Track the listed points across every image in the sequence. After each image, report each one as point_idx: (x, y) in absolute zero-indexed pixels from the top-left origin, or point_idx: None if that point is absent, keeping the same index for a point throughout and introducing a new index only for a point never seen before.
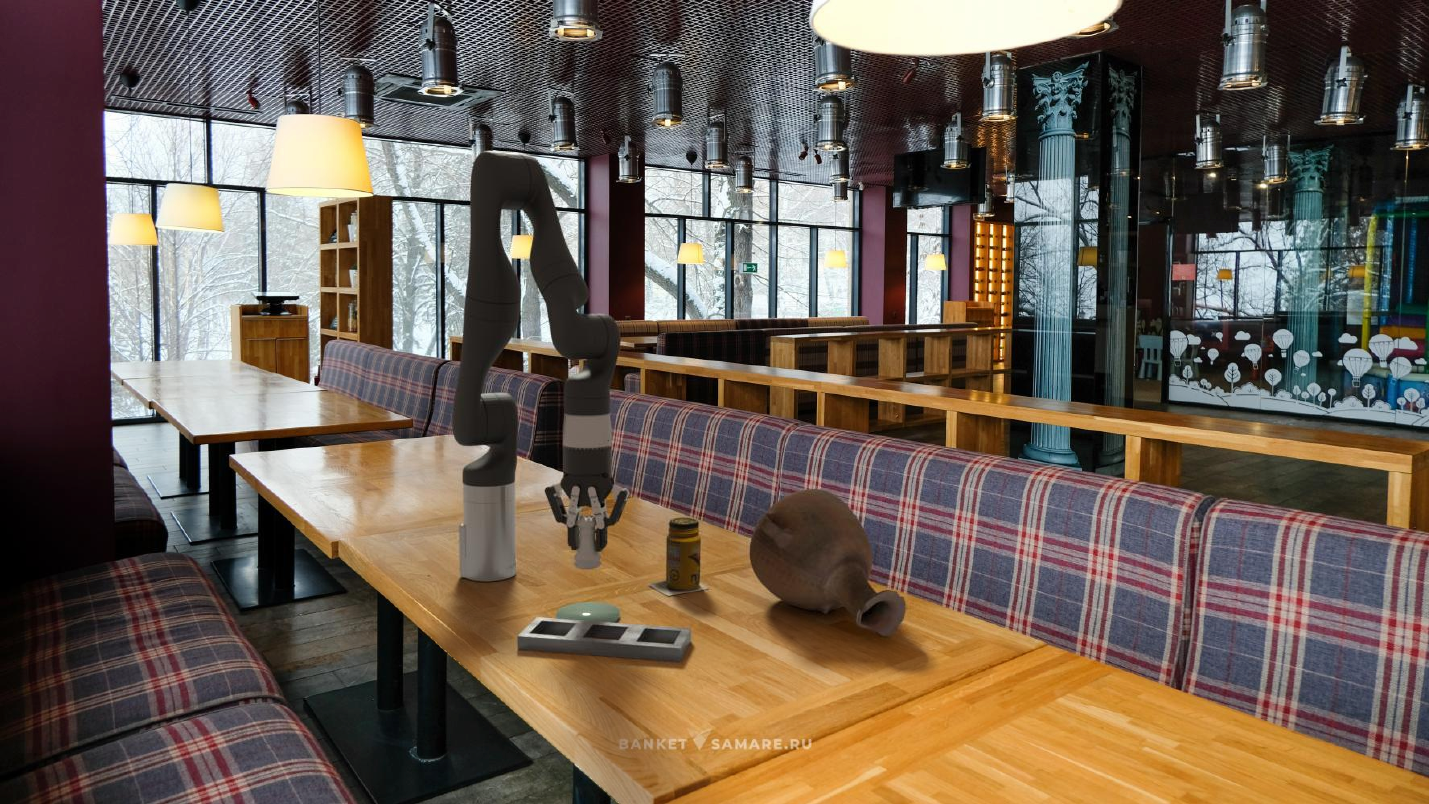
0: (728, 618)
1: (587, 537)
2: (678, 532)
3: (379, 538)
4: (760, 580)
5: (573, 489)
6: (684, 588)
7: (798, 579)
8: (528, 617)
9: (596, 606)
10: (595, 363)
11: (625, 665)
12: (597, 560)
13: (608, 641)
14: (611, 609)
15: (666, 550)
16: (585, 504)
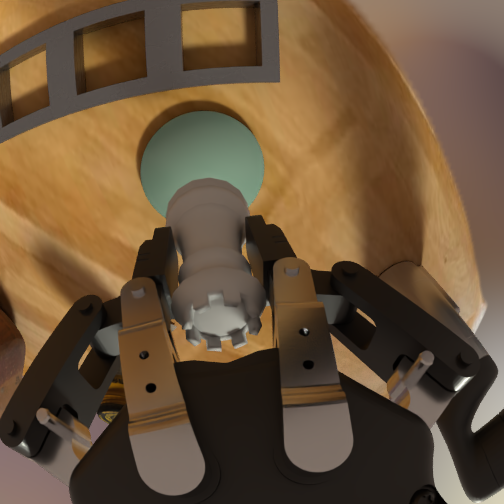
0: (13, 246)
1: (201, 246)
2: (115, 397)
3: (464, 318)
4: (2, 320)
5: (341, 436)
6: None
7: None
8: (309, 140)
9: None
10: None
11: (63, 6)
12: (168, 214)
13: (89, 17)
14: (165, 201)
15: None
16: (228, 368)
